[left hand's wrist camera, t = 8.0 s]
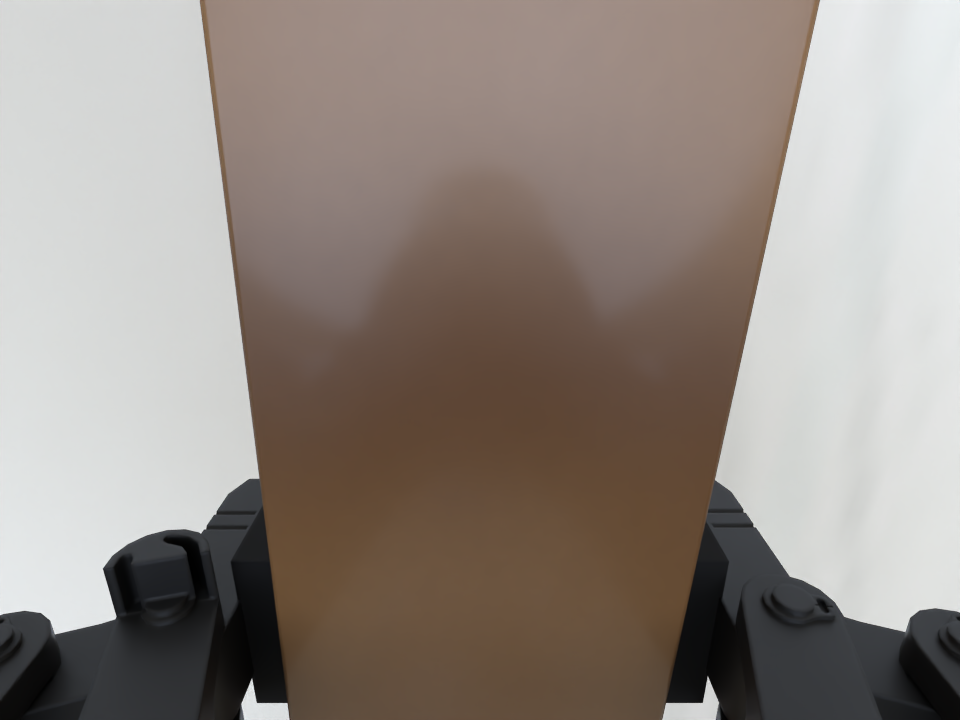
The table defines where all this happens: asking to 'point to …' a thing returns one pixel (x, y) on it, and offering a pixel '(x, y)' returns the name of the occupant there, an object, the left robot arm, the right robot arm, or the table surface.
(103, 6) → the table surface
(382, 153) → the beam
